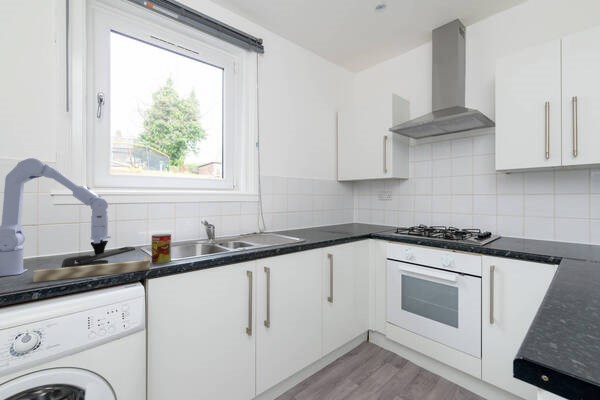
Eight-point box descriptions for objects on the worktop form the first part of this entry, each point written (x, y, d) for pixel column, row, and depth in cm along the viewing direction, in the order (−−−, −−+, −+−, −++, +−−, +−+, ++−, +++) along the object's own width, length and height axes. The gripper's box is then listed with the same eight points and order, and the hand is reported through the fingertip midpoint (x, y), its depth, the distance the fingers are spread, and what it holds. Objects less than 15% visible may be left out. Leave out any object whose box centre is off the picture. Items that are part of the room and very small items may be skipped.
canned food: (149, 261, 124) (149, 234, 124) (168, 258, 129) (168, 233, 129) (154, 264, 118) (154, 236, 118) (173, 261, 123) (173, 234, 123)
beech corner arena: (33, 282, 91) (33, 271, 91) (46, 273, 102) (46, 264, 102) (150, 269, 107) (150, 260, 107) (149, 263, 119) (149, 255, 119)
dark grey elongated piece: (137, 247, 121) (66, 256, 100) (137, 262, 121) (66, 274, 100) (127, 245, 126) (58, 254, 105) (127, 260, 126) (57, 271, 105)
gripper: (108, 227, 113) (108, 260, 113) (112, 225, 126) (112, 254, 125) (87, 228, 109) (87, 262, 109) (93, 225, 122) (93, 256, 122)
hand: (99, 258), depth 117 cm, fingers closed
